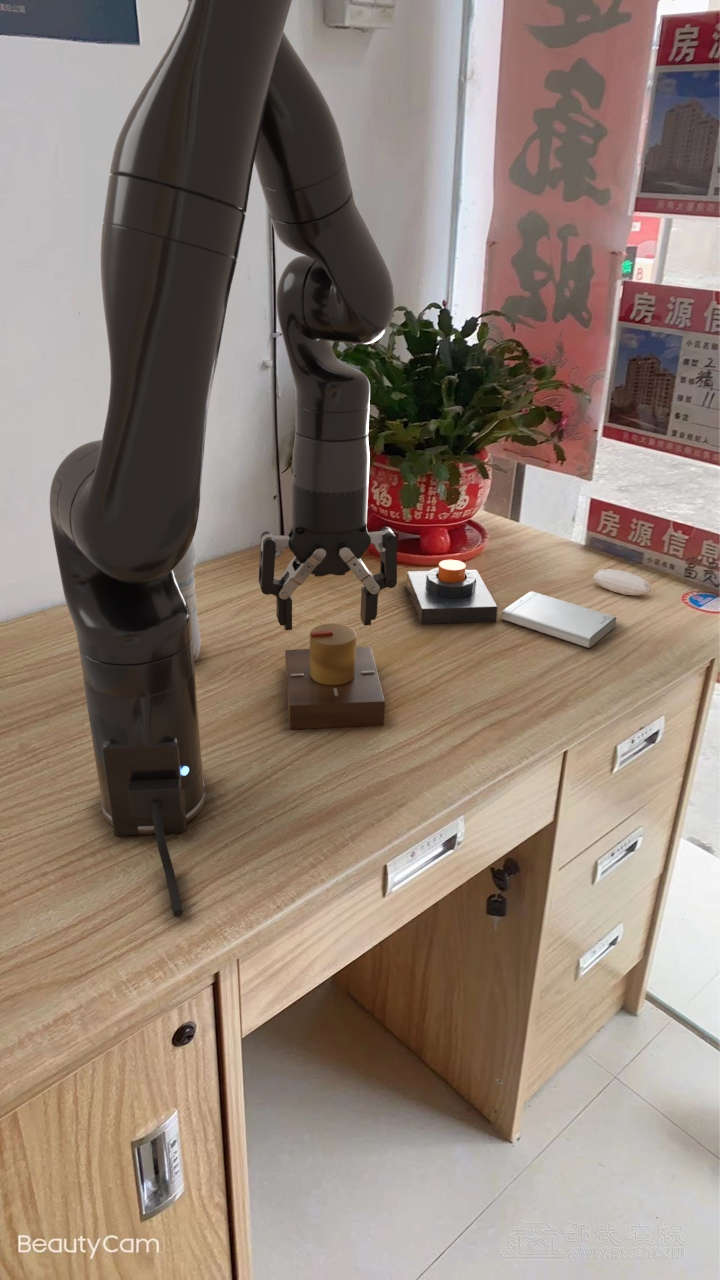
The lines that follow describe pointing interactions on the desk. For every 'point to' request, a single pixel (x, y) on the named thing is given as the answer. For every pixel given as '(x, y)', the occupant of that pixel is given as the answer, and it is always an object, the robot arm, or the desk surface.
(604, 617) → the hard drive
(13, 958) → the desk surface
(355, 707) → the dial panel
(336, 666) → the dial
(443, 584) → the push button base
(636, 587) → the white oval capsule
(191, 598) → the bottle
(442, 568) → the orange push button
